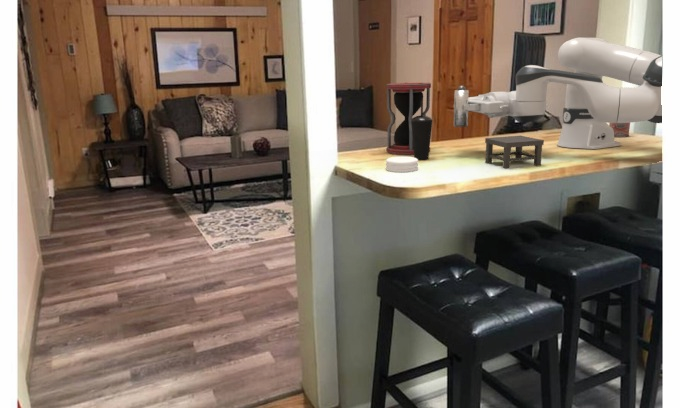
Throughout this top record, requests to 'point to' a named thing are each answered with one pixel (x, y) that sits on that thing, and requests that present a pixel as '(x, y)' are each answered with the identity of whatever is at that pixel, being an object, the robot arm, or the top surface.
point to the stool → (518, 143)
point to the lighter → (620, 129)
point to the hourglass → (405, 114)
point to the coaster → (401, 164)
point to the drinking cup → (421, 135)
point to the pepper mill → (460, 107)
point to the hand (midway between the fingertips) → (458, 106)
